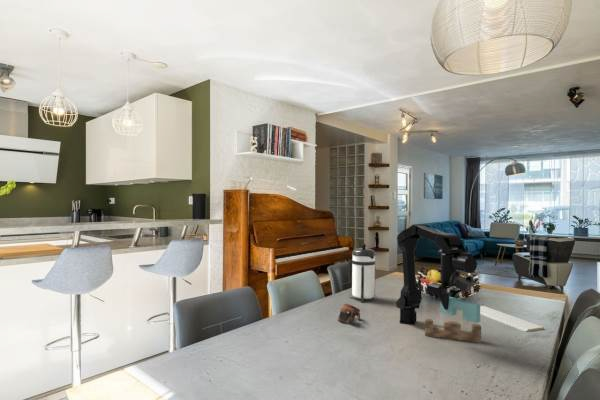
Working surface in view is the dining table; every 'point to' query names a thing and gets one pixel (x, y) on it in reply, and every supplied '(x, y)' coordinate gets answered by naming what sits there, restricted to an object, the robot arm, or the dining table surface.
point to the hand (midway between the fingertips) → (448, 308)
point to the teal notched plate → (469, 309)
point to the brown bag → (348, 316)
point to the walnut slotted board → (453, 331)
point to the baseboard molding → (509, 319)
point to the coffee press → (362, 273)
